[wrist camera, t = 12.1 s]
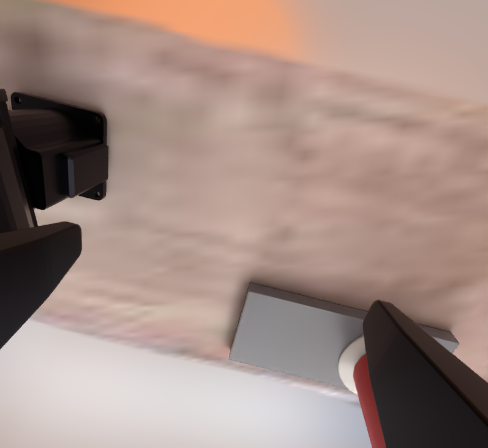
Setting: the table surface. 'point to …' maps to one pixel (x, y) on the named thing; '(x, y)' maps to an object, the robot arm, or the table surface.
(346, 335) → the charging dock
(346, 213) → the table surface
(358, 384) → the beer can
